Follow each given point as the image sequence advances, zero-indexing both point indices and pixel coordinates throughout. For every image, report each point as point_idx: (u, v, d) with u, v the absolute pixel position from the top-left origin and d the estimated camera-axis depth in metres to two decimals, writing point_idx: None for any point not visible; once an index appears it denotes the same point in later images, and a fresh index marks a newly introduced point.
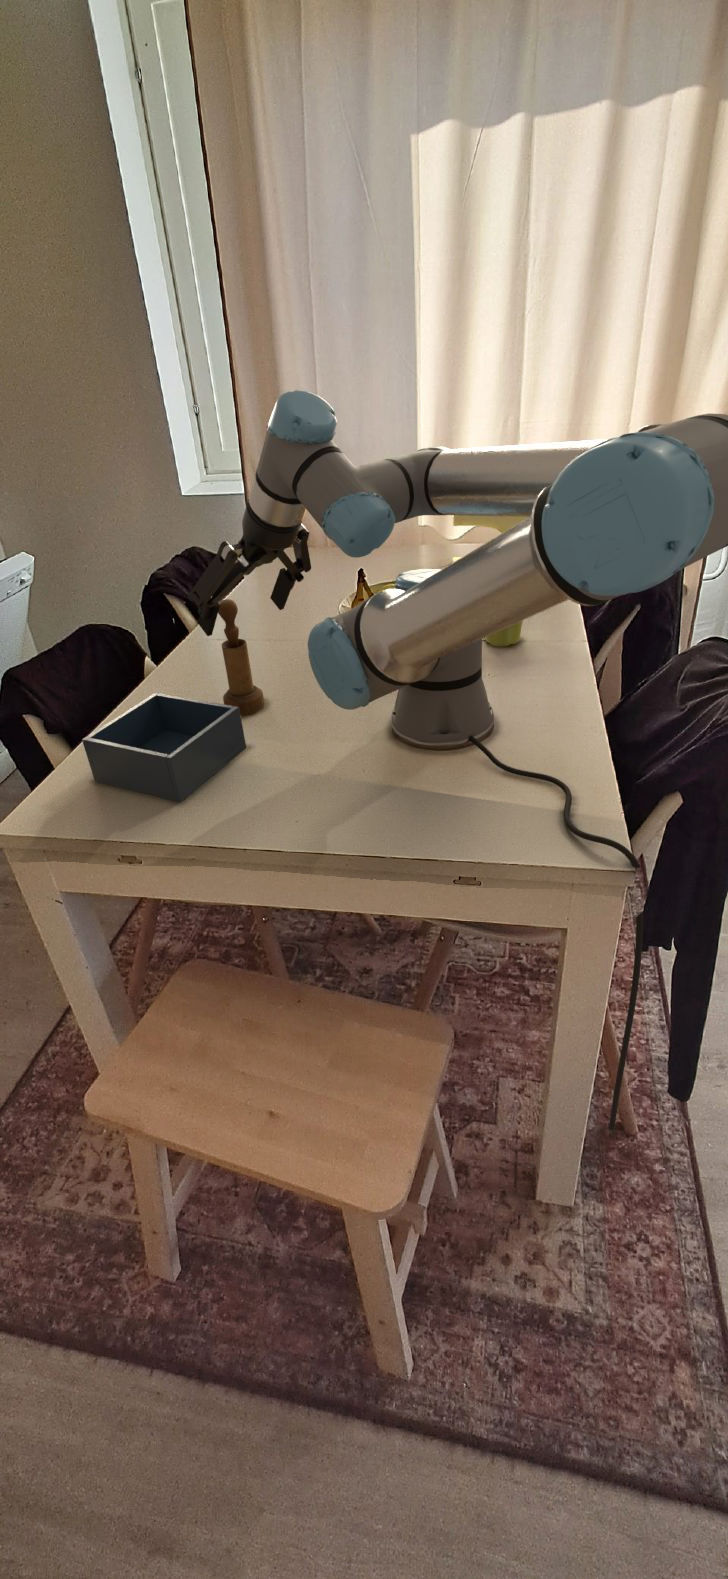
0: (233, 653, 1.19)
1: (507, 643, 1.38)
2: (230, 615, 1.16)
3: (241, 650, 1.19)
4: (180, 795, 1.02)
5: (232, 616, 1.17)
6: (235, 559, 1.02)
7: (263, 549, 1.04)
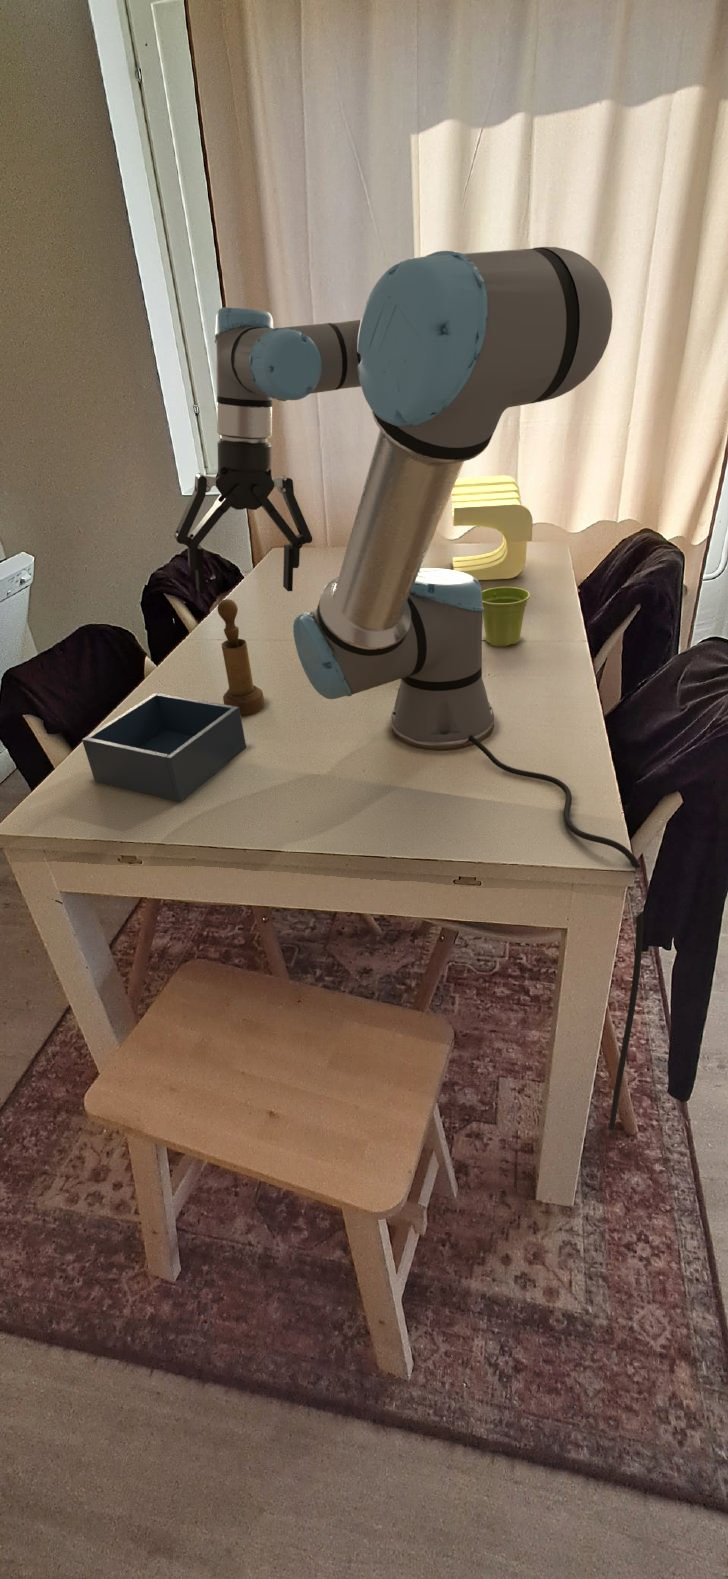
0: (233, 653, 1.19)
1: (507, 643, 1.38)
2: (230, 615, 1.16)
3: (241, 650, 1.19)
4: (180, 795, 1.02)
5: (232, 616, 1.17)
6: (205, 484, 1.07)
7: (238, 483, 1.08)
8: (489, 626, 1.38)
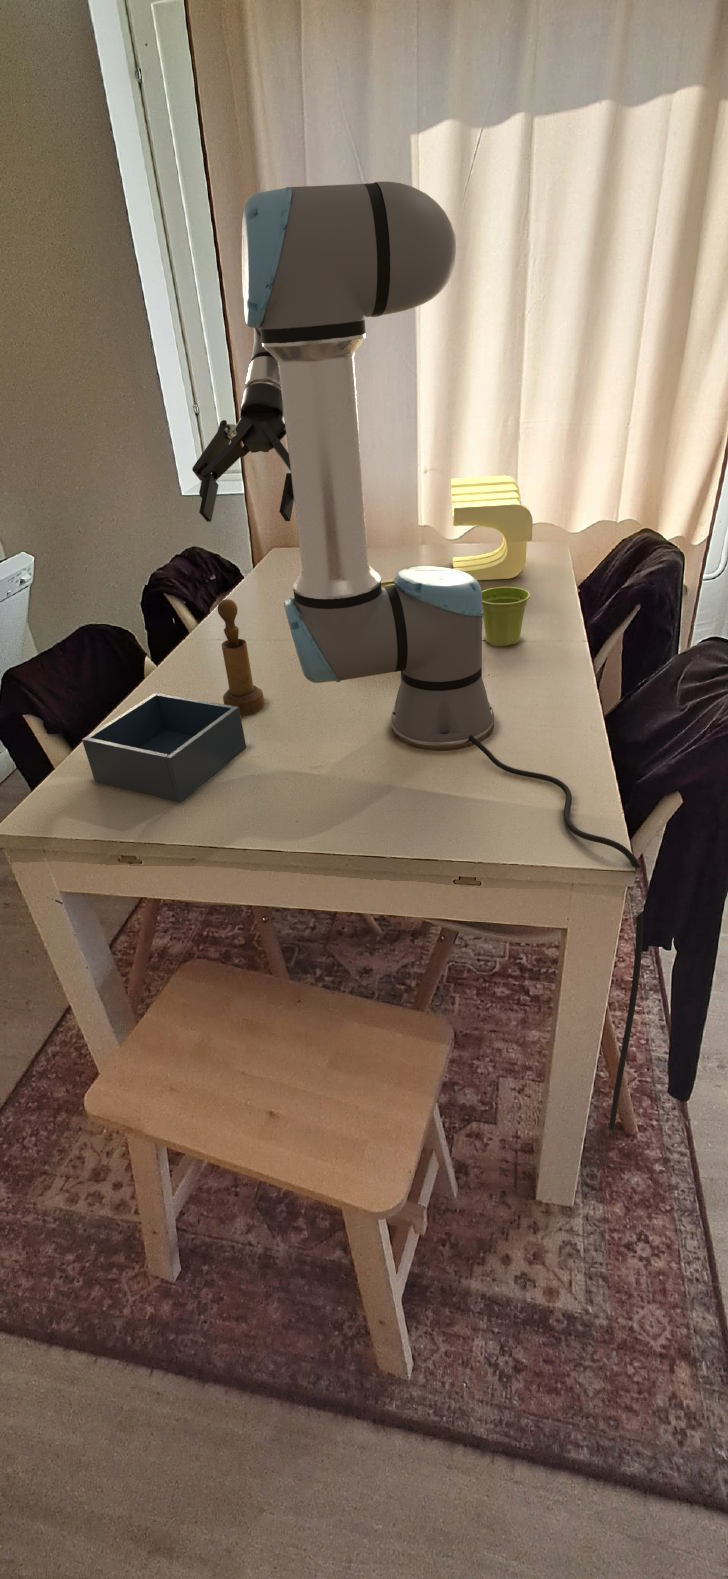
0: (233, 653, 1.19)
1: (507, 643, 1.38)
2: (230, 615, 1.16)
3: (241, 650, 1.19)
4: (180, 795, 1.02)
5: (232, 616, 1.17)
6: (225, 426, 1.23)
7: (251, 424, 1.21)
8: (489, 626, 1.38)
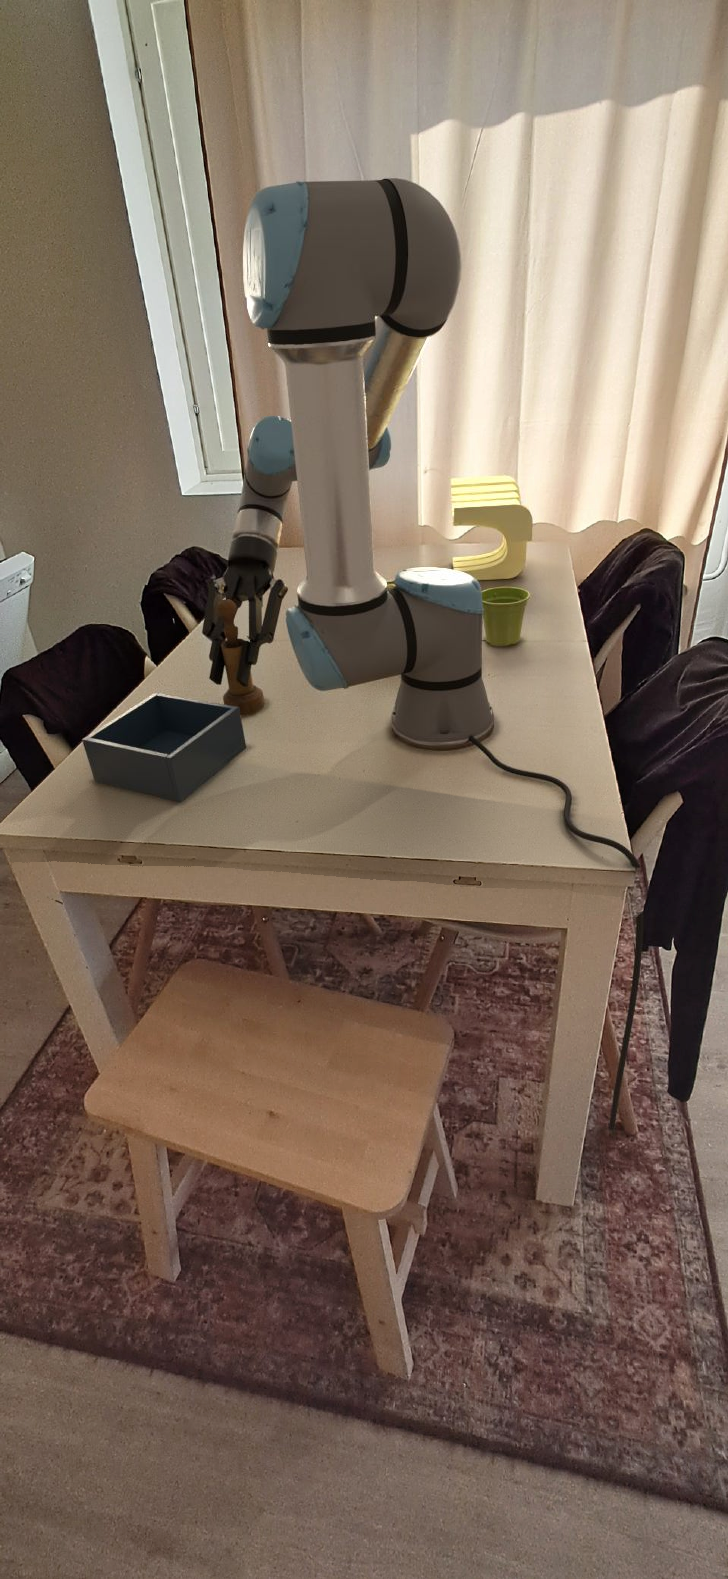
0: (232, 653, 1.19)
1: (507, 643, 1.38)
2: (229, 614, 1.16)
3: (241, 650, 1.19)
4: (180, 795, 1.02)
5: (231, 616, 1.17)
6: (213, 583, 1.23)
7: (238, 574, 1.22)
8: (489, 626, 1.38)
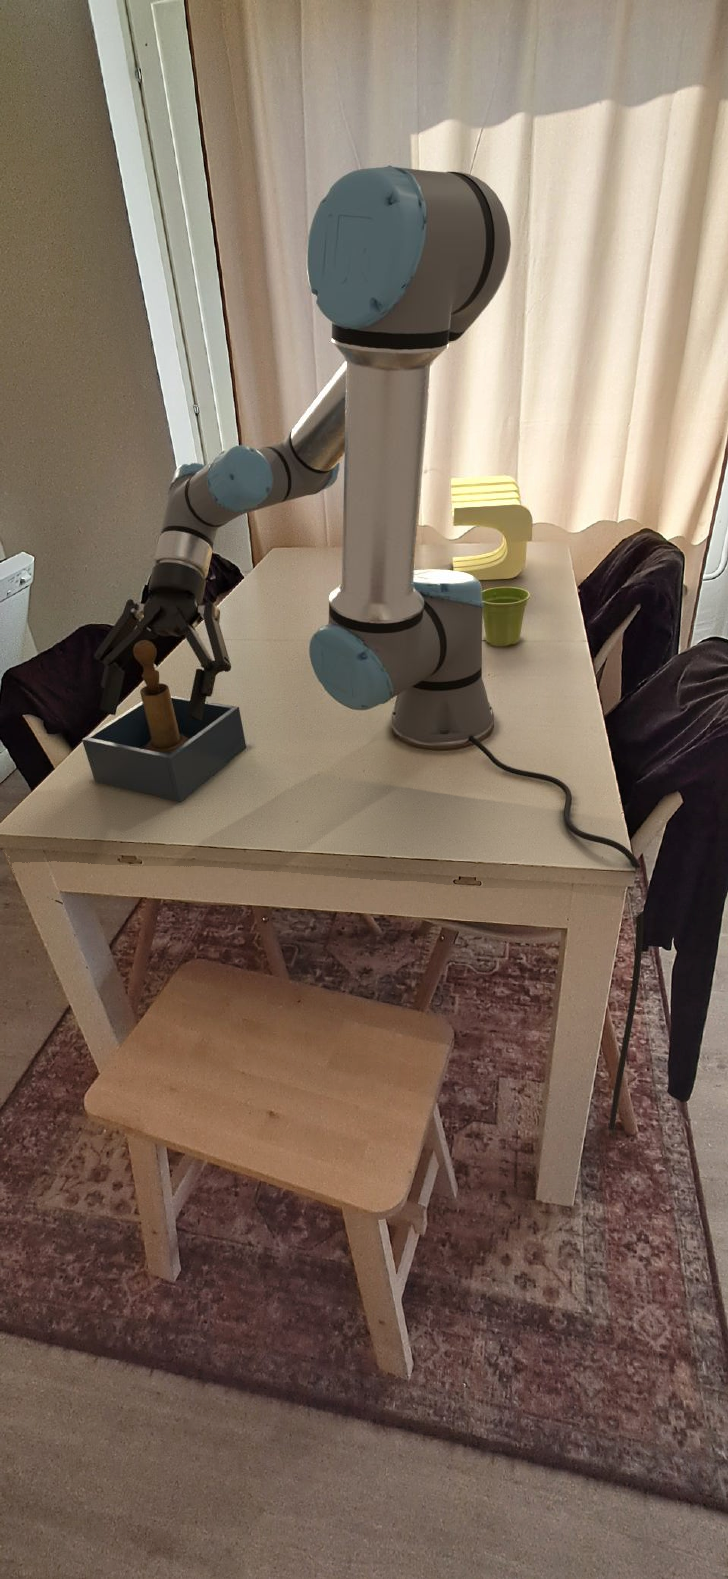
0: (153, 701, 1.04)
1: (507, 643, 1.38)
2: (147, 658, 1.01)
3: (162, 697, 1.04)
4: (180, 795, 1.02)
5: (150, 660, 1.02)
6: (131, 606, 1.08)
7: (160, 606, 1.07)
8: (489, 626, 1.38)
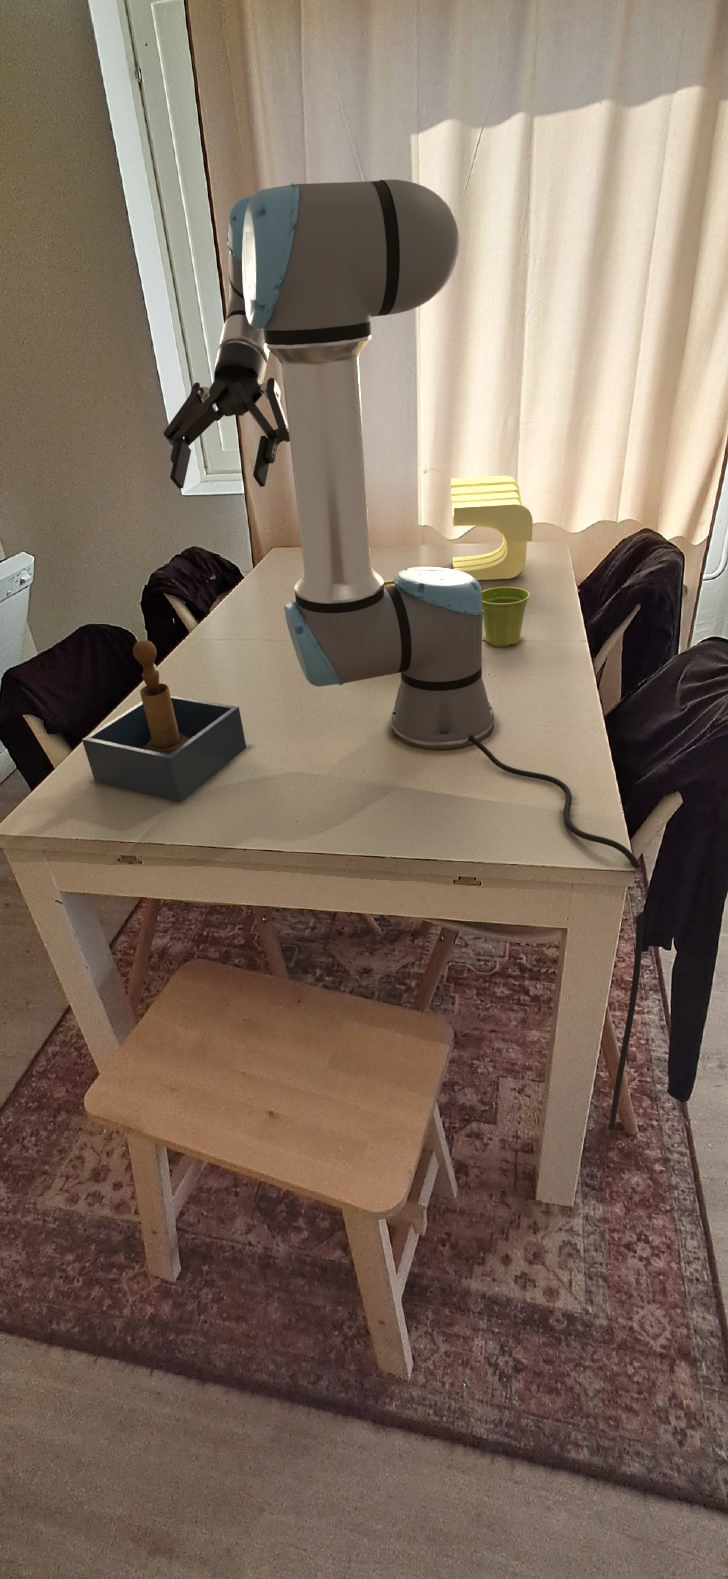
0: (152, 701, 1.04)
1: (507, 643, 1.38)
2: (147, 658, 1.01)
3: (162, 697, 1.04)
4: (180, 795, 1.02)
5: (150, 660, 1.02)
6: (197, 388, 1.17)
7: (225, 386, 1.16)
8: (489, 626, 1.38)
